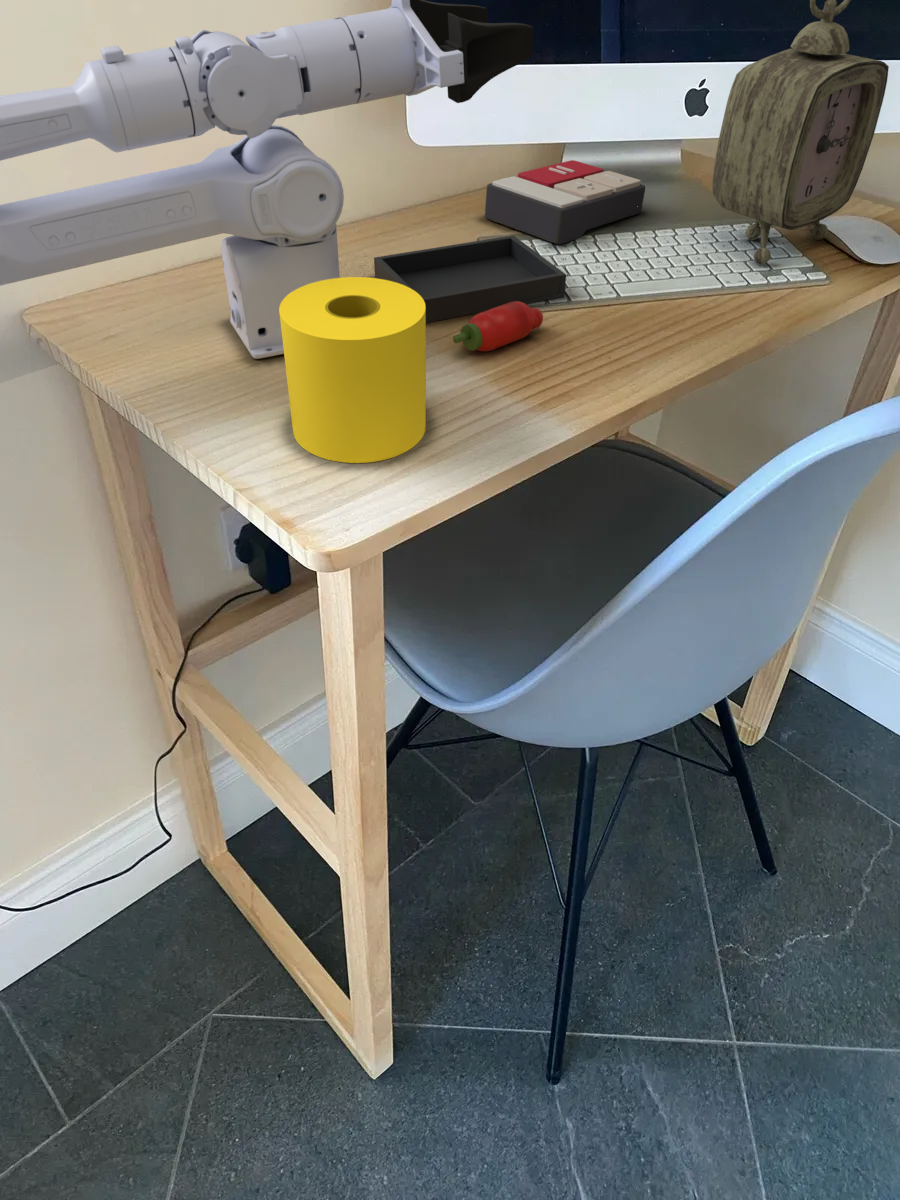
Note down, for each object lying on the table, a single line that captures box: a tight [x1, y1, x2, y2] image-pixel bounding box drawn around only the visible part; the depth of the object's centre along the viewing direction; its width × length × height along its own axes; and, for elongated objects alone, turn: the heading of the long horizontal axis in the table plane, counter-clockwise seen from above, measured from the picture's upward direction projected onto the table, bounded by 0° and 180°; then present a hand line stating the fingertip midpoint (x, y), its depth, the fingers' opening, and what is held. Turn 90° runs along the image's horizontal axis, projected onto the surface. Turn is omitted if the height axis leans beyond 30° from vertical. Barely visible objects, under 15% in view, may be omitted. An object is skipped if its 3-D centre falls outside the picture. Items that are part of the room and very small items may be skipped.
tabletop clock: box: [711, 0, 890, 265], centre depth 89 cm, size 14×9×25 cm, turn 131°
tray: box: [373, 234, 567, 323], centre depth 87 cm, size 15×11×2 cm
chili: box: [452, 301, 544, 352], centre depth 78 cm, size 10×3×3 cm, turn 130°
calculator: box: [484, 159, 646, 245], centre depth 101 cm, size 11×4×15 cm
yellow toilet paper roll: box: [279, 276, 427, 464], centre depth 66 cm, size 10×10×9 cm
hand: (507, 31), depth 72 cm, fingers open, 7 cm apart
